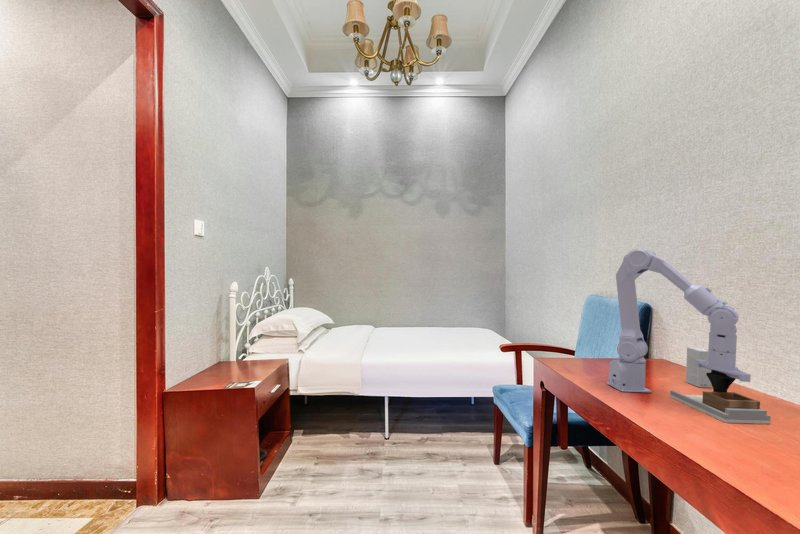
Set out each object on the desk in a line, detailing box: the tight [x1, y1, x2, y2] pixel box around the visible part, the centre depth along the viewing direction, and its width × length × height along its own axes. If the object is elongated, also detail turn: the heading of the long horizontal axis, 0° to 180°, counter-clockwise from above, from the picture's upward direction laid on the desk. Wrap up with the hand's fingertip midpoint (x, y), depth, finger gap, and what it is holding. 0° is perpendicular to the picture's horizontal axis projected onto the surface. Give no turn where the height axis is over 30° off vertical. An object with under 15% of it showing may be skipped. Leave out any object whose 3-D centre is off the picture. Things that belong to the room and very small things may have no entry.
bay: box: [669, 389, 771, 425], centre depth 101 cm, size 12×18×3 cm, turn 2°
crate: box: [702, 390, 761, 413], centre depth 97 cm, size 9×7×4 cm
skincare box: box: [685, 346, 713, 389], centre depth 123 cm, size 6×4×12 cm
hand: (719, 399), depth 101 cm, fingers closed
